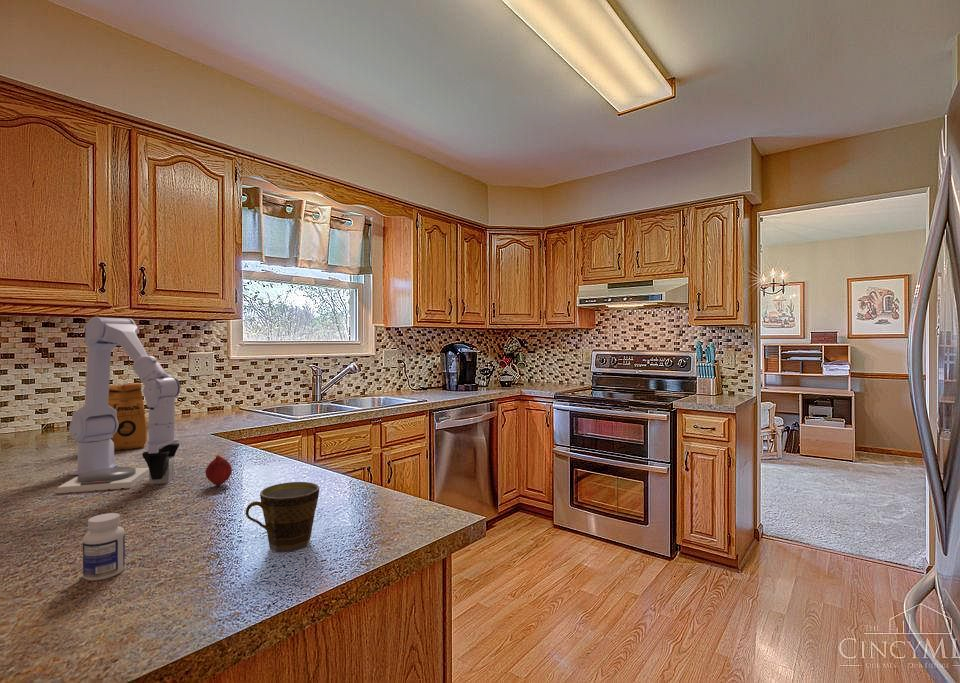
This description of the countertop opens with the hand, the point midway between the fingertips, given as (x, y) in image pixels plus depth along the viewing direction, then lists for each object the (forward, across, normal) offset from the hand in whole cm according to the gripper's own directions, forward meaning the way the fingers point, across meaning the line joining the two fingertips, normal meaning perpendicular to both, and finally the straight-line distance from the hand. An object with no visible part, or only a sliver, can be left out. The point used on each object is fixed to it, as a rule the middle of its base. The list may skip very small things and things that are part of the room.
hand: (161, 475), depth 129 cm
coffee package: (+2, +49, +24) cm, 55 cm away
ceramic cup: (+2, -54, -33) cm, 63 cm away
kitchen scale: (+2, +3, +13) cm, 13 cm away
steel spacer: (+2, 0, 0) cm, 2 cm away
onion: (+2, -9, -15) cm, 18 cm away
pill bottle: (+2, -56, -7) cm, 56 cm away
